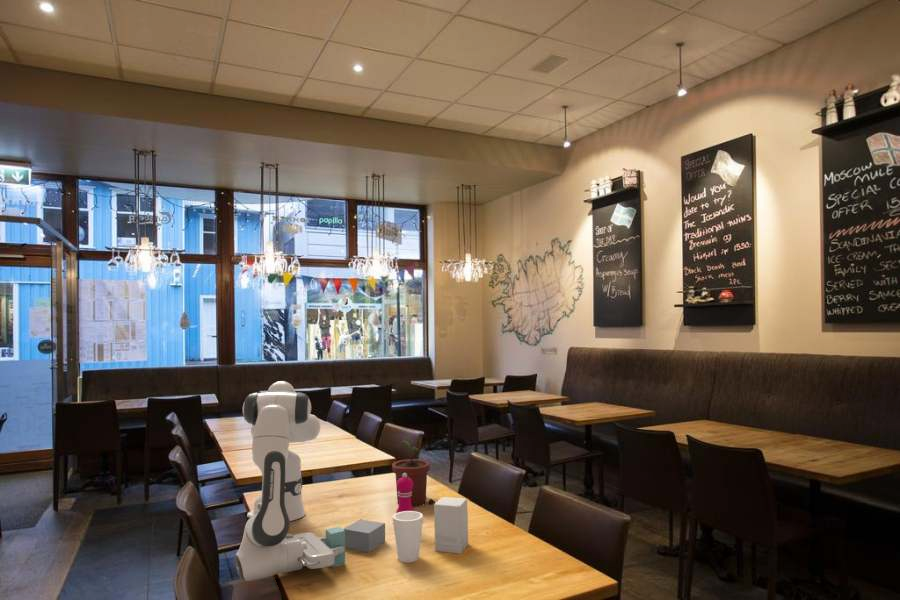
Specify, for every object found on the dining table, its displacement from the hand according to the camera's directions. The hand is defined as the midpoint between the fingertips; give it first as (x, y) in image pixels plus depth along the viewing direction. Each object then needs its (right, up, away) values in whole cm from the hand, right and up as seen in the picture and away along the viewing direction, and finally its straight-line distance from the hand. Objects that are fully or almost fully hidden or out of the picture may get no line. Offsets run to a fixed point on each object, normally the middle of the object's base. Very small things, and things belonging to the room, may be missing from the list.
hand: (337, 544), depth 173 cm
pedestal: (+6, -6, +14) cm, 16 cm away
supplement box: (+35, -6, +10) cm, 37 cm away
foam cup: (+22, -5, +2) cm, 22 cm away
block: (-1, -5, -1) cm, 6 cm away
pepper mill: (+19, -7, +27) cm, 33 cm away
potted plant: (+20, -8, +60) cm, 64 cm away
